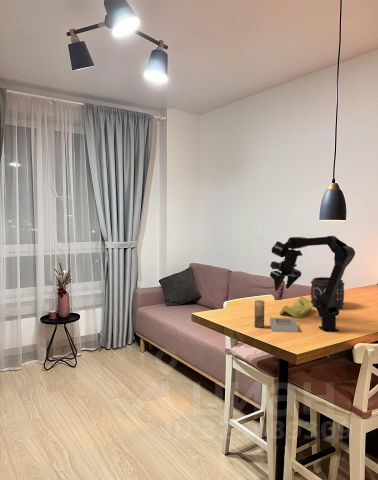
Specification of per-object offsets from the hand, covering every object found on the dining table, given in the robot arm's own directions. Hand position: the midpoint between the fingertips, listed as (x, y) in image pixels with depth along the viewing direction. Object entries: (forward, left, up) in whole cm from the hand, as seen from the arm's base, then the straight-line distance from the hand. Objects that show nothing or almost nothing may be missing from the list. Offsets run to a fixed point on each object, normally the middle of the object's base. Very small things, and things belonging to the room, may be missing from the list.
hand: (281, 289), depth 184 cm
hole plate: (-16, +7, -14) cm, 22 cm away
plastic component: (+5, -12, -15) cm, 20 cm away
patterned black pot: (+15, -36, -15) cm, 42 cm away
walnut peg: (-12, +17, -14) cm, 25 cm away
